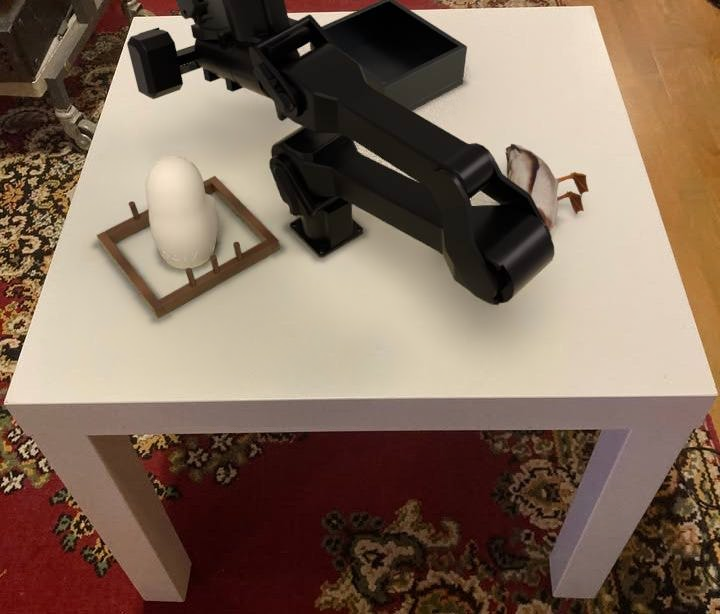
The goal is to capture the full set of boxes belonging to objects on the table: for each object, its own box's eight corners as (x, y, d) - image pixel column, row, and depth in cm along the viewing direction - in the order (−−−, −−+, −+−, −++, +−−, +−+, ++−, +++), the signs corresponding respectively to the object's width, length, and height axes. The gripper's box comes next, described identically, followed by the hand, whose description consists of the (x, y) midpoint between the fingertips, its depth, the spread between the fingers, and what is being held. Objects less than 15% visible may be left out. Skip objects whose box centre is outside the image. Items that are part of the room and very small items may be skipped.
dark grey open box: (462, 84, 102) (467, 46, 97) (384, 125, 97) (384, 87, 92) (388, 33, 110) (389, -4, 105) (311, 69, 105) (308, 31, 100)
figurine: (226, 225, 86) (208, 146, 76) (212, 273, 81) (191, 196, 72) (168, 221, 86) (143, 142, 77) (151, 269, 82) (122, 192, 72)
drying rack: (280, 249, 83) (276, 225, 80) (158, 318, 77) (149, 296, 74) (217, 184, 90) (211, 160, 87) (100, 244, 84) (89, 220, 81)
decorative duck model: (479, 243, 75) (424, 150, 83) (476, 284, 81) (425, 194, 89) (608, 198, 77) (542, 111, 85) (595, 242, 83) (535, 157, 91)
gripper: (313, -42, 74) (224, -63, 83) (158, 2, 65) (76, -27, 74) (321, 64, 81) (238, 34, 90) (182, 118, 72) (105, 79, 81)
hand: (170, 29), depth 83 cm, fingers open, 9 cm apart
